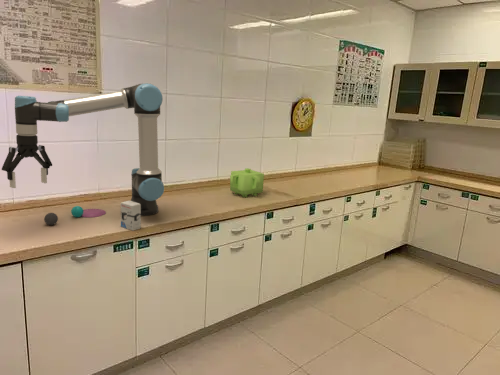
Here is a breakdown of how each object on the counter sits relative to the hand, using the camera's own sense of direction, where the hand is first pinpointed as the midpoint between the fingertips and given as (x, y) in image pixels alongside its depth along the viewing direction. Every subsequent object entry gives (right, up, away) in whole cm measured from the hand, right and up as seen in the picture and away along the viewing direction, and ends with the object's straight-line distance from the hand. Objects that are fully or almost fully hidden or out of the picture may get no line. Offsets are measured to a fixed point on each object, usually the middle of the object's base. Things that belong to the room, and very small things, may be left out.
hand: (29, 185), depth 160 cm
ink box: (+38, -20, +15) cm, 45 cm away
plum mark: (+13, -14, +31) cm, 36 cm away
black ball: (+4, -15, +11) cm, 19 cm away
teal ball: (+10, -13, +23) cm, 28 cm away
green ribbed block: (+91, -6, +88) cm, 126 cm away
